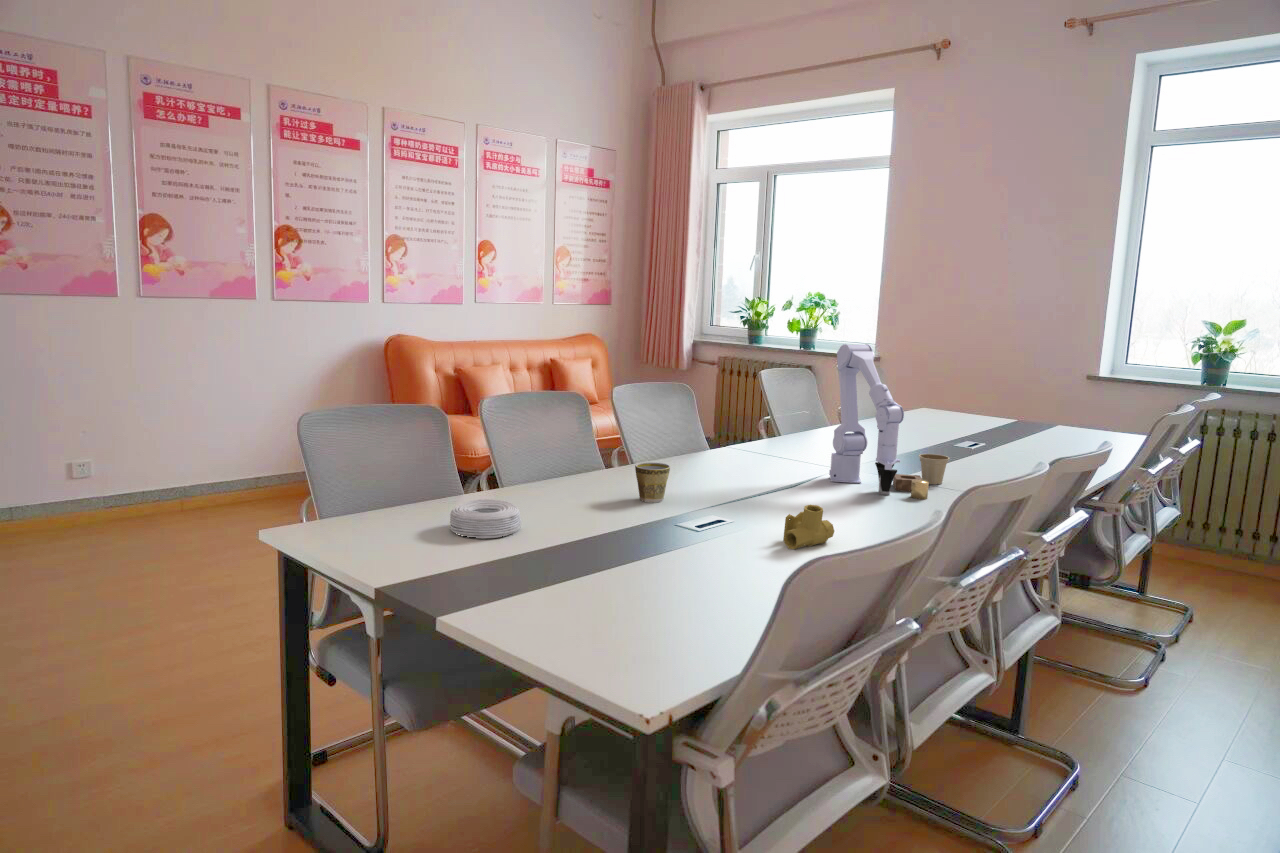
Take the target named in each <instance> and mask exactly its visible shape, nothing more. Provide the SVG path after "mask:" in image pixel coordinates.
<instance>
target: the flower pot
mask: <svg viewBox="0 0 1280 853" xmlns="http://www.w3.org/2000/svg"><path fill="white" fill-rule="evenodd" d="M918 458H919V461H920V465H921V466H920V470H921V478H922V480H925V481H928V482H929V485H935V486H936V485H942V484H943V480H944V476H945V472H946V467H947V464H948V462H949V460H950V457H949V456H947V455H943V454H936V453H922V454H921V453H920V454H919V455H918Z"/></svg>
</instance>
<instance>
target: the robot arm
mask: <svg viewBox="0 0 1280 853" xmlns="http://www.w3.org/2000/svg"><path fill="white" fill-rule="evenodd" d="M875 355H876V354H875V353H874V349H873V347H872V346H871V345H870V344H867V343H865V344H846V343H845V344H842V345H841V346H839V348H838V350H837V352H836V357H837V358H836V360H837V361H836V362H837V371H838V379H839V380H838V381H839V382H838V383H839V400H840V401H839V402H840V403H839V404H840V420H841V421H840V422H841V423H840V424H839V425H838V426H837V427H836V428H835V429H834V430H833V438H832V447H833V450H834V452H831V454H830V455H831V459H830V469H829V473H828V474H829V480H830V482H832V483H833V482H834V483H835V482H836V483H852V484H861V483H862V481H861V477H860V475H861V474H860V470H861V456H862V455H864V452H865V451H866V449H867V447H868V439H867V436H866V429H865V428H864V426H862V425H861V424H860V423H859V411H858V410H859V409H858V408H859V407H858V393H857V392H858V391H857V390H858V389H857V374H858V373H859V372H861V374H862V376H863V377H864V378H865V381H866V382H867V384H868V386H869V388H870V389H869V391H868V394H869V396H870V399H871V401H872V403H873V405H874V407H875V410H876V412H875V415H874V416H875V417H874V418H875V420H876V428H877V430H878V433H877V434H878V435H877V437H878V439H877V451H876V457H875V461H876V462H875V463H874V465H875V466H876V467H875V468H876V470H877V475H878V479H879V478H880V479H881V489H882V491H883V492H889V491H891V487H892V485H893V478H894V476H895V474H898V473H897V472H898V469H893V468H894V466H895V464H896V463H901V459H900V458H897V457H898V456H897V454H898V452H897V451H898V443H899V441H898V440H899V429H900V427H899V426H900V424H901V423H902V422H903V421H904V419H905V418H904V417H905V416H904V415H905V412H904V409H903V406H902V405H900V404H898V403H897V402H896V401H895V400H894V399H893V396H892V393H891V392H890V390H889V388H888V386H887V384H885V383H882V382H881V378H880V376H879V374H878V371H877V368H876V365H875V363H874V360H875ZM850 432H851V433H850Z"/></svg>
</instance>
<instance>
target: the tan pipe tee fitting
mask: <svg viewBox="0 0 1280 853" xmlns="http://www.w3.org/2000/svg"><path fill="white" fill-rule="evenodd" d="M803 507H804V508H803V511H800V512H799V513H798V514H796V516H794V515H793V514H790V513H789V514H788V515H786V516H785V521H784V530H783V540H782V541H784V544H785V545H786V546H787V549H789V550H797V549H799V548H803V547H806V546H807V547H808V548H809V547H812V546H814V545H818V544H825V543H826V542H827V541H828V540H829V539H831V538H833V536H834V534H835V528H834V524H832V522H830V521H829V520H828V519H825V520H823V514H824V508H823V507H821V506H820V505H816V504H815V505H814V504H807V505H804V506H803Z"/></svg>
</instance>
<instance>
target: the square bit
mask: <svg viewBox="0 0 1280 853" xmlns="http://www.w3.org/2000/svg"><path fill="white" fill-rule="evenodd" d="M890 491H891V490H890ZM890 491H889V492H883V491H882V489H881V479H880V478H879V477H878V492H879V493H878V494H879V495H880V496H890V495H891V492H890Z"/></svg>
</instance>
